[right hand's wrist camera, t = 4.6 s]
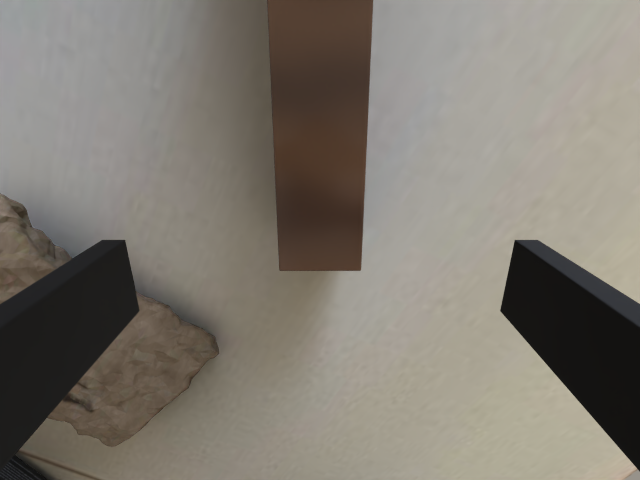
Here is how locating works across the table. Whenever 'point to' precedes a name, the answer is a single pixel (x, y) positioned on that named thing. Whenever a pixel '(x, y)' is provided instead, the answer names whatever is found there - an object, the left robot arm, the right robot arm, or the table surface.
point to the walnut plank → (320, 129)
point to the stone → (123, 353)
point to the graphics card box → (19, 471)
